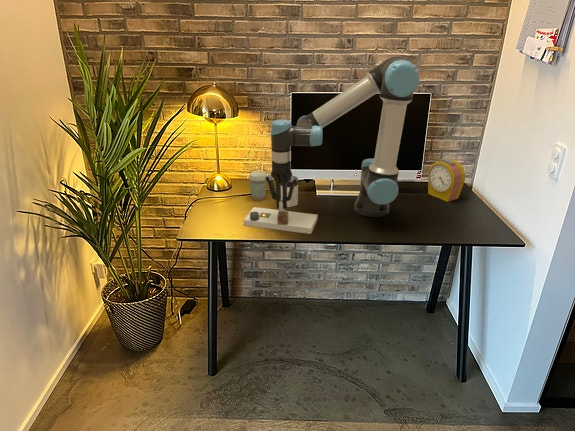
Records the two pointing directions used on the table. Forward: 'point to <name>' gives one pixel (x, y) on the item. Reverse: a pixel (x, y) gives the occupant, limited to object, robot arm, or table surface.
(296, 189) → the jar
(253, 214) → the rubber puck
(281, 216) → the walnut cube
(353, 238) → the table surface
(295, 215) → the plate
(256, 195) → the coffee cup
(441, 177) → the alarm clock
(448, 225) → the table surface
